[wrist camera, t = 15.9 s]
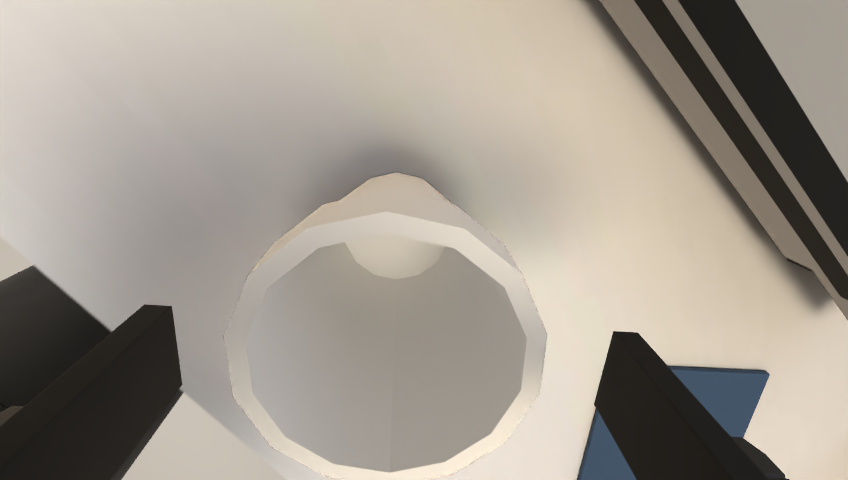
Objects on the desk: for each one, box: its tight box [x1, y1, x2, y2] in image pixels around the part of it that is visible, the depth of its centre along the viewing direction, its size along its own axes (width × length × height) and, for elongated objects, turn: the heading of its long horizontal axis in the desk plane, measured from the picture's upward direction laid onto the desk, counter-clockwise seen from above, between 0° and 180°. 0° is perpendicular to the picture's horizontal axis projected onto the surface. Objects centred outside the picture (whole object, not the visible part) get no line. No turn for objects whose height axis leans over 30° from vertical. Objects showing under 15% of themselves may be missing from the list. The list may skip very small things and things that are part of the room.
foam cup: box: [223, 172, 548, 480], centre depth 19 cm, size 10×9×13 cm
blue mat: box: [578, 366, 770, 480], centre depth 31 cm, size 11×11×1 cm
